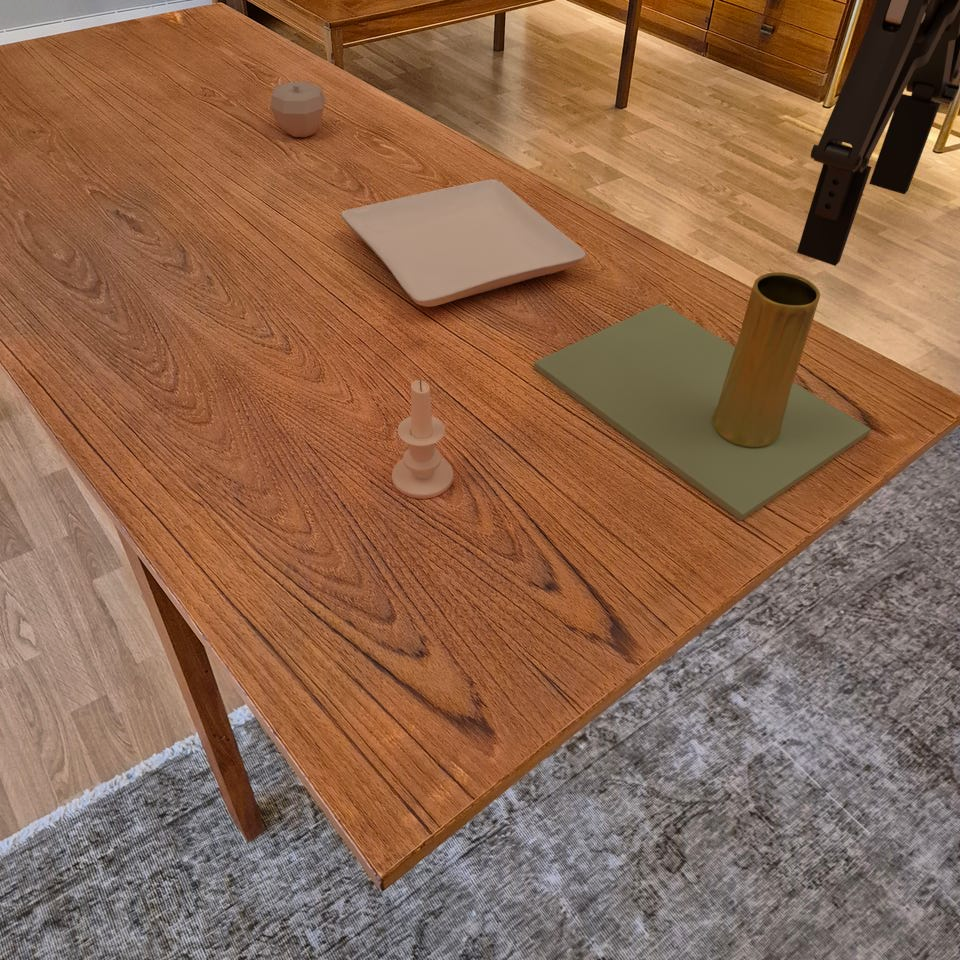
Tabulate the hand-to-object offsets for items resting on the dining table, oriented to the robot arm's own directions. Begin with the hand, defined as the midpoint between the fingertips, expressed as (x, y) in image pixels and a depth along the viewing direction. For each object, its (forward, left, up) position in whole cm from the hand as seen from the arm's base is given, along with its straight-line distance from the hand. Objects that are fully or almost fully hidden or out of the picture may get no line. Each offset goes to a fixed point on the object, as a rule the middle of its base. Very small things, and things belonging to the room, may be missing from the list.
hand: (855, 220), depth 63 cm
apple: (+50, +69, -23) cm, 88 cm away
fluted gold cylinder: (+2, +3, -22) cm, 22 cm away
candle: (-12, +29, -23) cm, 39 cm away
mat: (+6, +8, -22) cm, 24 cm away
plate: (+24, +37, -23) cm, 49 cm away
